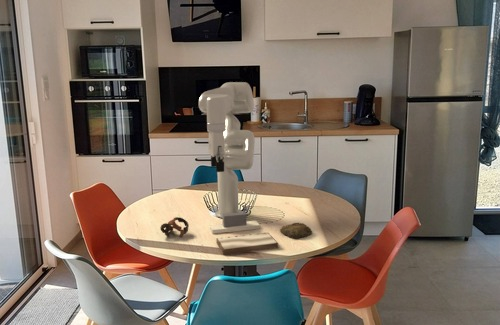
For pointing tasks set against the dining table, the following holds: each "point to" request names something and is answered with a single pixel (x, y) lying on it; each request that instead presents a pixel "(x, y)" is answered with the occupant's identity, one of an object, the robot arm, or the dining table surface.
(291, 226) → the bread roll
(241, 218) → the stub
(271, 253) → the dining table surface
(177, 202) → the dining table surface
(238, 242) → the light wooden flat board
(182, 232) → the rusty gear assembly
